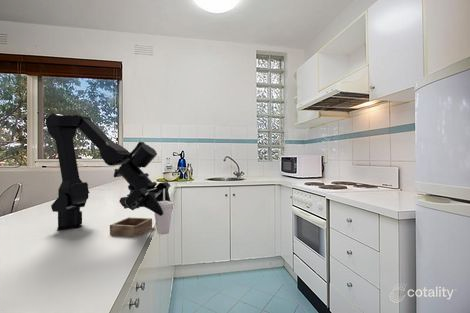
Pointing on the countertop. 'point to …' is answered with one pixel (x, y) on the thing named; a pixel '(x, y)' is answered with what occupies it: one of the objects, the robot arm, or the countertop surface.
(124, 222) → the socket block
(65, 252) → the countertop surface
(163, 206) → the smoothie
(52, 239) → the countertop surface
